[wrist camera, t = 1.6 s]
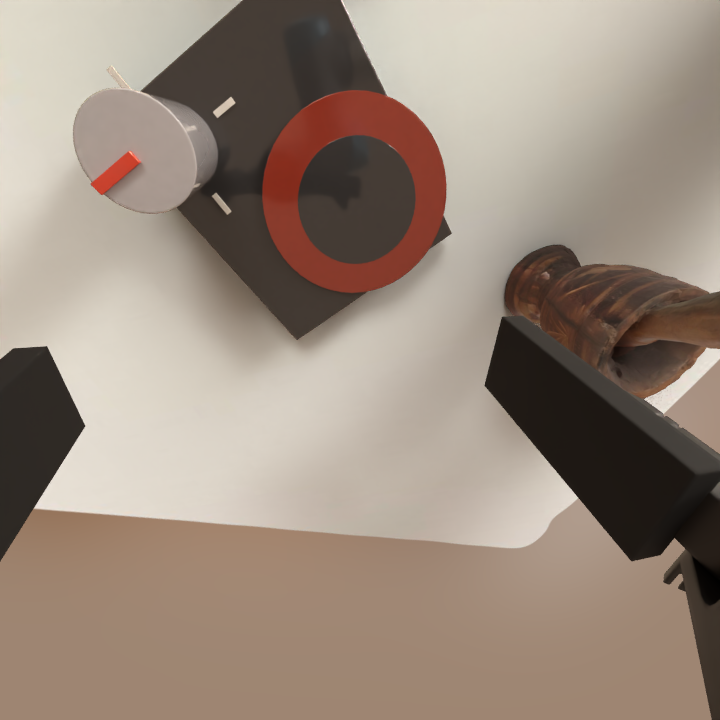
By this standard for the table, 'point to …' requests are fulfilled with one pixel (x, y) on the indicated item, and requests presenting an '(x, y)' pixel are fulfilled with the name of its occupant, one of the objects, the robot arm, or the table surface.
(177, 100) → the stove
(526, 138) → the table surface
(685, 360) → the mortar and pestle
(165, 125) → the knob
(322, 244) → the burner
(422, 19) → the table surface
